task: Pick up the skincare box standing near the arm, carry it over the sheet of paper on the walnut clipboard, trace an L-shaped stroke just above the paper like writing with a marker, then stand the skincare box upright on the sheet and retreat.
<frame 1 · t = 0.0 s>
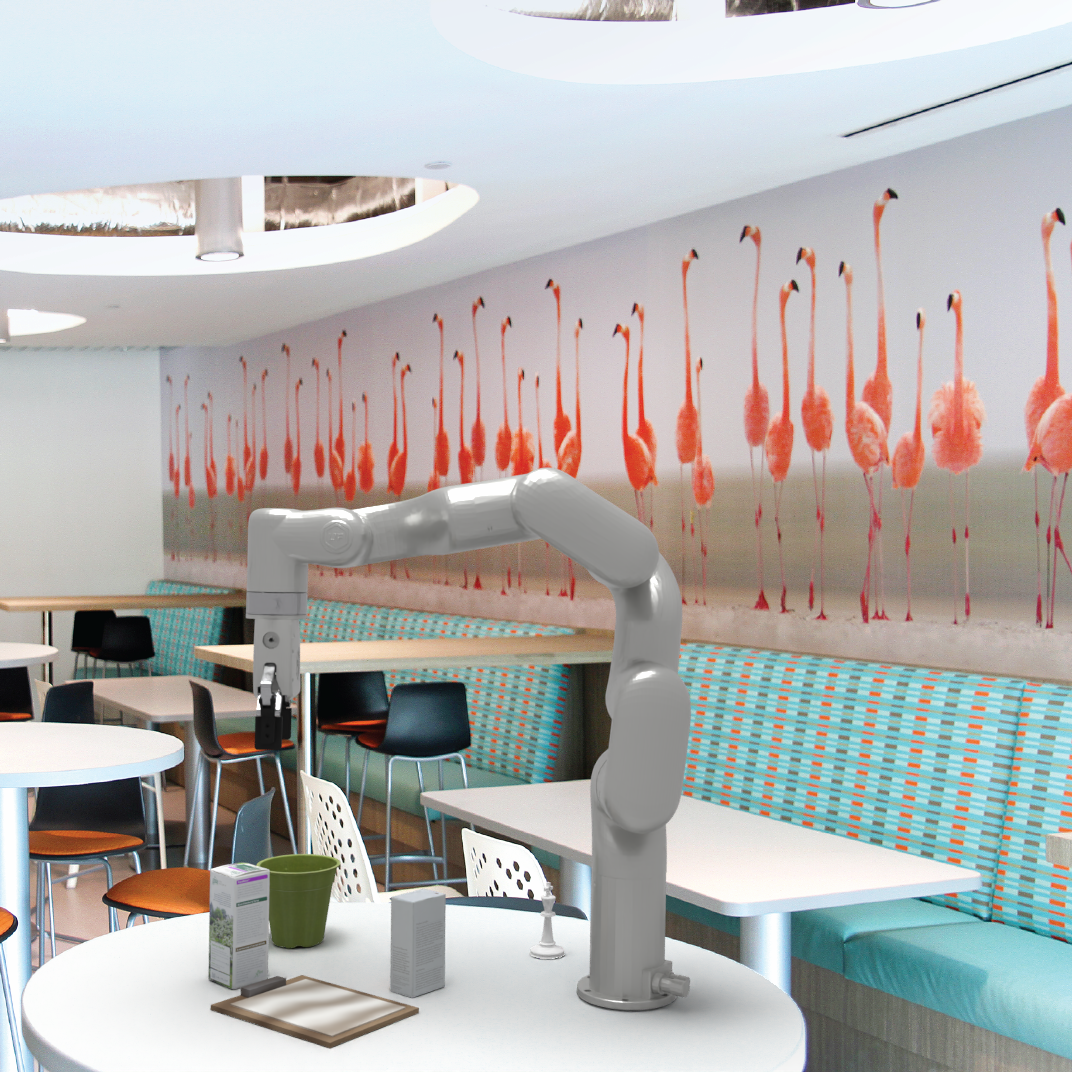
hand: (273, 744, 162), 31 cm above the table, tool pointing down, fingers open, 9 cm apart
syrup box: (237, 982, 167), on the table
chess piece: (547, 956, 181), on the table
clipboard: (314, 1011, 156), on the table
plant pot: (296, 943, 185), on the table
skincare box: (416, 991, 165), on the table
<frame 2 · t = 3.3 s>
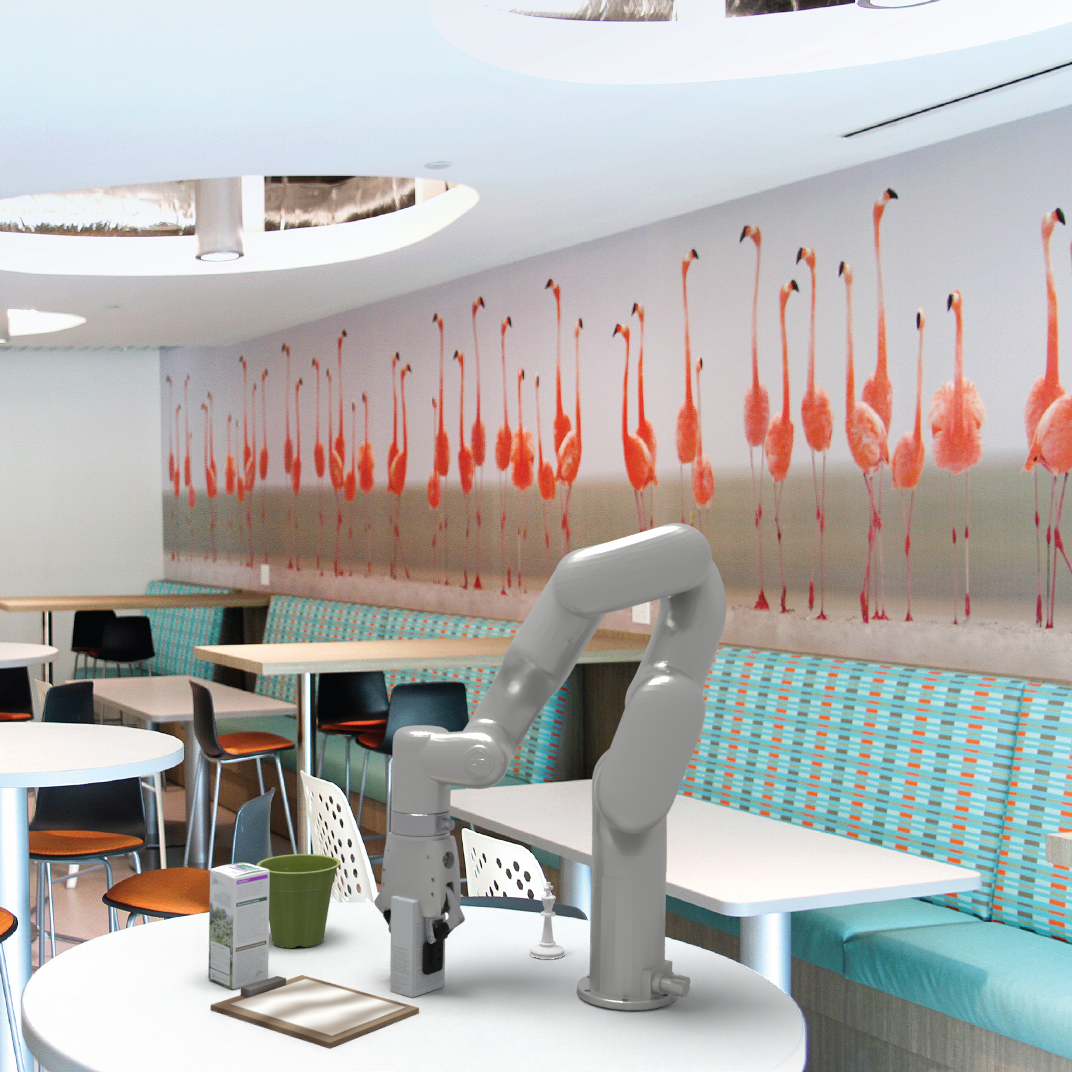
hand: (417, 966, 165), 3 cm above the table, tool pointing down, fingers closed on skincare box, 4 cm apart
skincare box: (416, 991, 165), on the table, touching gripper
everything else where it was.
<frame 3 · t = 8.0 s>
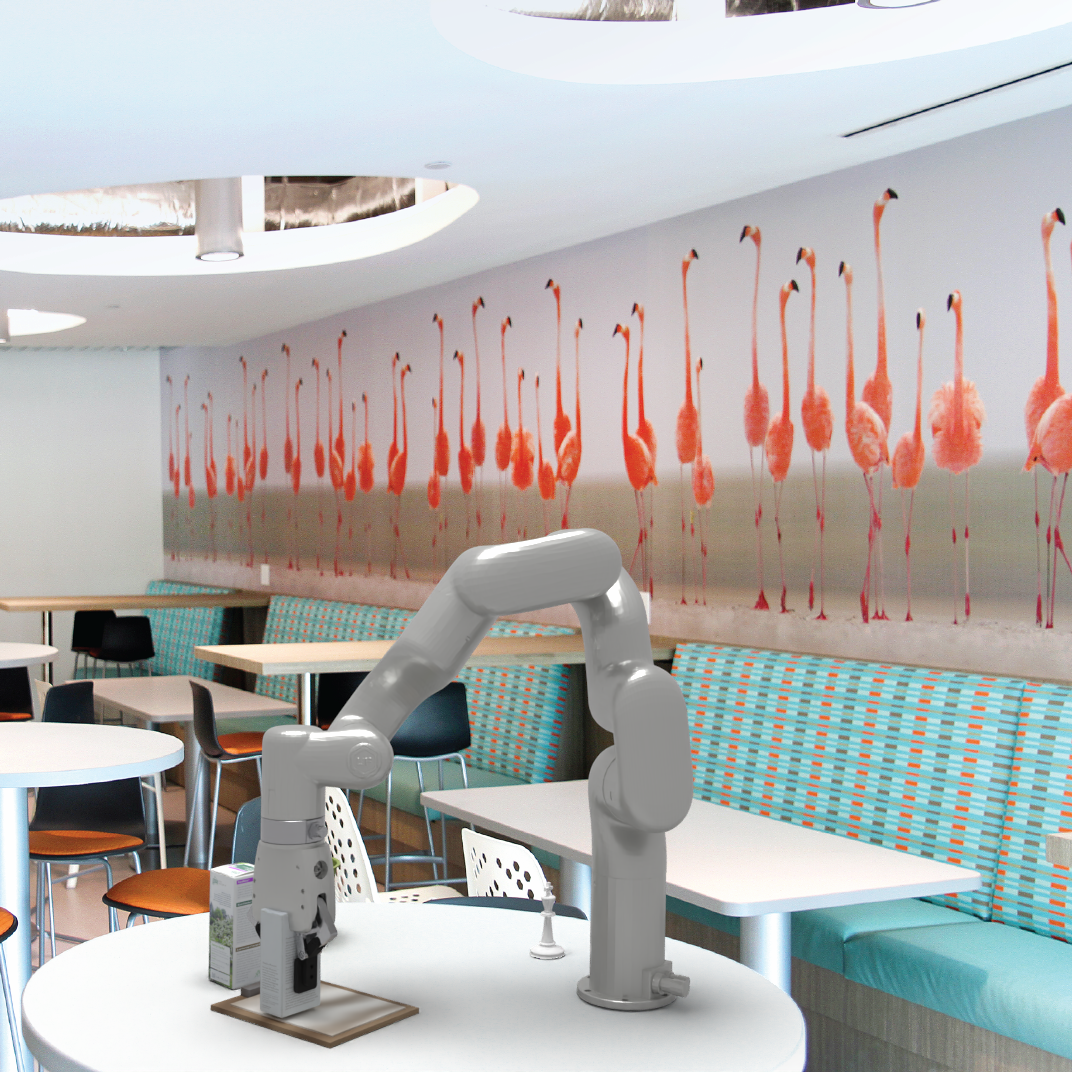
hand: (290, 984, 153), 4 cm above the table, tool pointing down, fingers closed on skincare box, 4 cm apart
skincare box: (289, 1010, 153), point 1 cm above the table, touching gripper
everything else where it was.
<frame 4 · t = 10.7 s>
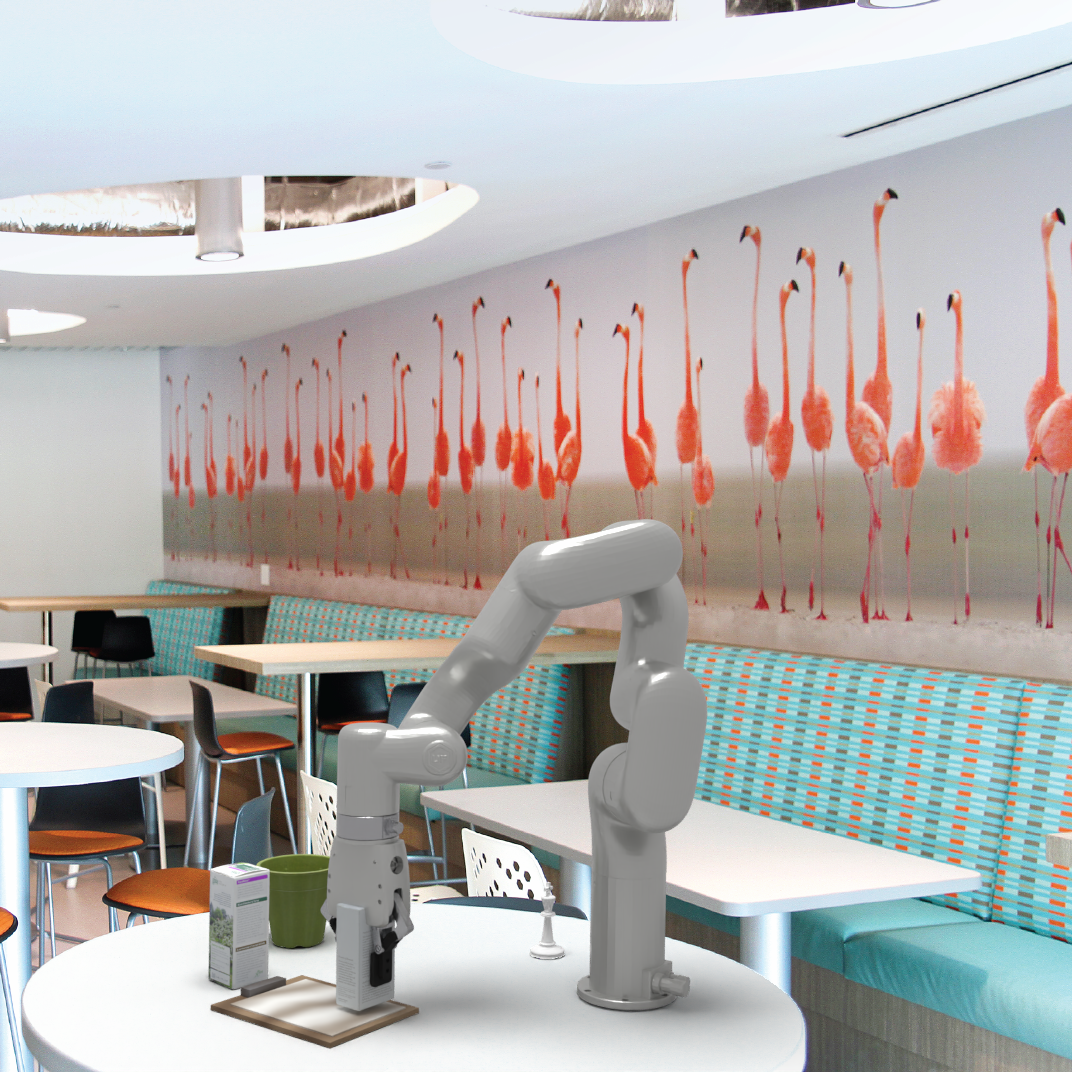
hand: (365, 978, 156), 4 cm above the table, tool pointing down, fingers closed on skincare box, 4 cm apart
skincare box: (364, 1003, 156), point 1 cm above the table, touching gripper
everything else where it was.
when the fingers open (4 cm above the table, at t = 13.0 s): skincare box stays where it is, resting on clipboard.
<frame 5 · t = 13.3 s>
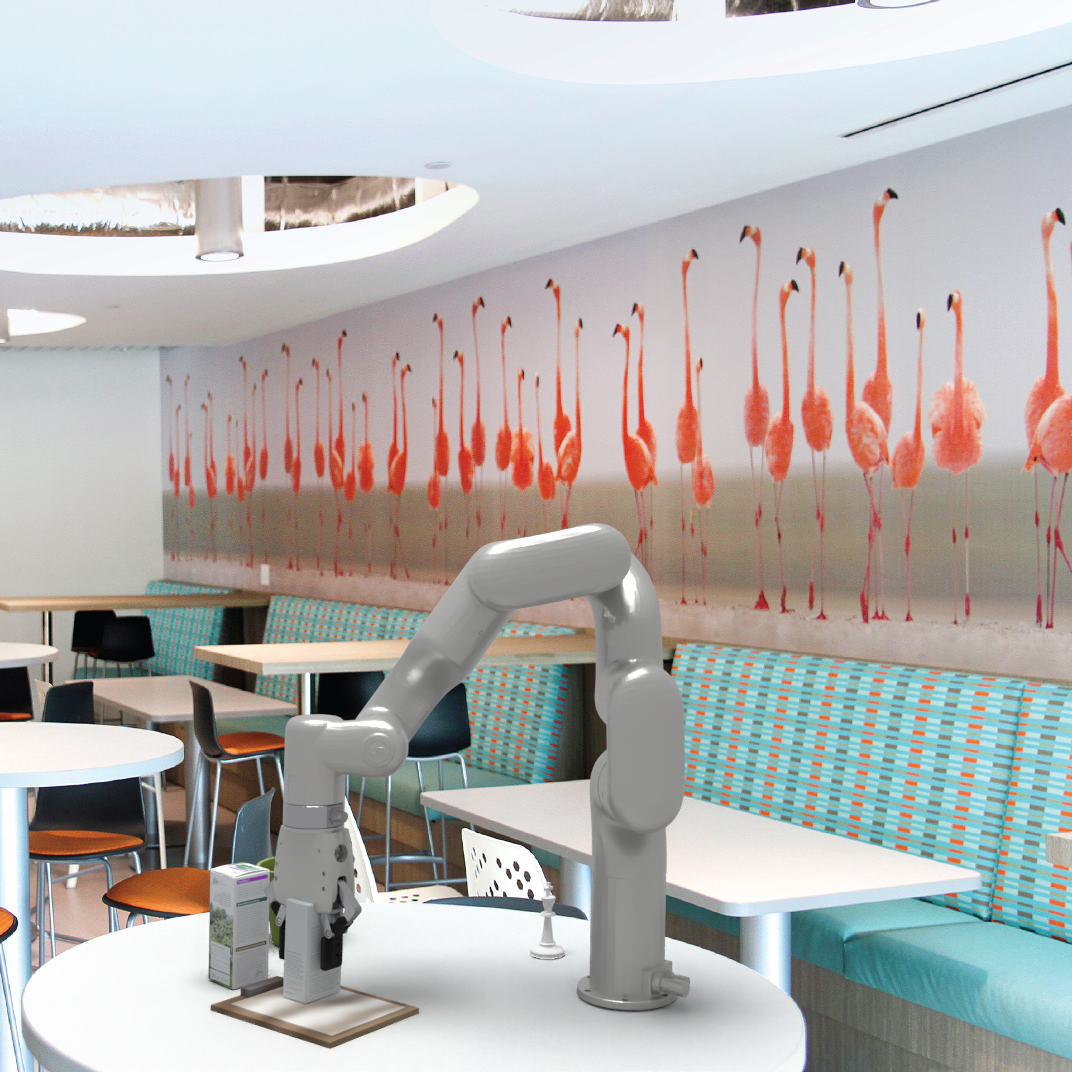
hand: (310, 961, 160), 5 cm above the table, tool pointing down, fingers open, 6 cm apart
skincare box: (310, 996, 160), point 1 cm above the table, touching clipboard
everything else where it was.
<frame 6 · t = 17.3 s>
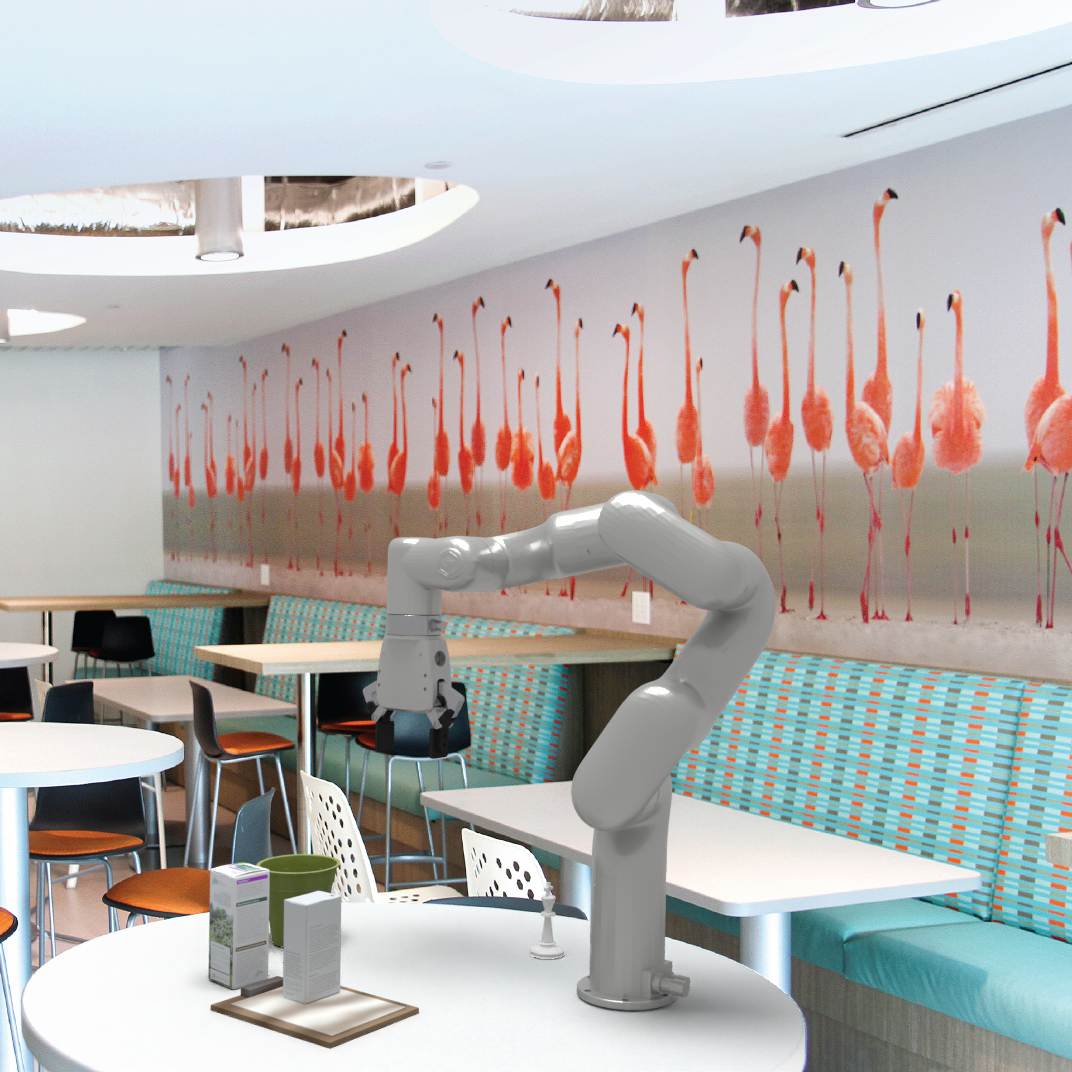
hand: (411, 754, 176), 28 cm above the table, tool pointing down, fingers open, 9 cm apart
nothing on the table moved.
at the end: skincare box inside the target area on the clipboard (3.6 cm from its centre), point 0.6 cm above the clipboard's base; skincare box tilted 0°; the gripper is holding nothing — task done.
